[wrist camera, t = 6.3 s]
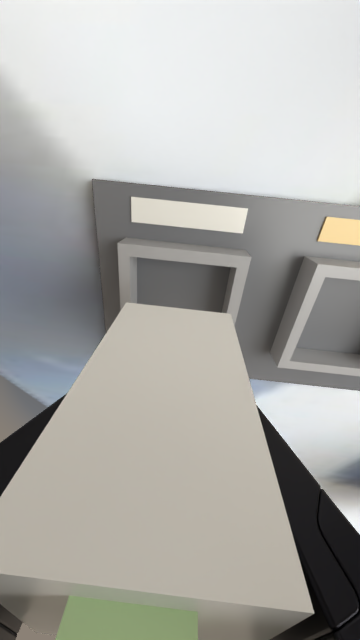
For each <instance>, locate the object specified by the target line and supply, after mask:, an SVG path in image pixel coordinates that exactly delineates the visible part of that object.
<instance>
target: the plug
mask: <svg viewBox="0 0 360 640" xmlns="http://www.w3.org/2000/svg"><path fill="white" fill-rule="evenodd" d="M0 604H1V605H2V606H3V607H4V608H6V609H7V610H8V611H9V612H11V613H12V614H13V615H14V616H16V617H17V618H18V619H19V620H21V621H22V622H23V623H25V624H26V625H27V626H28V627H29V628H31V629H32V630H33V631H34V632H36V633H42V634H50V635H56V639H55V640H270V639H272V638H273V637H275V636H277V635H278V634H280V633H282V632H284V631H285V630H287V629H289V628H290V627H292V626H294V625H296V624H297V623H299V622H301V621H302V620H304V619H306V618H308V617H309V616H311V615H313V614H314V610H313V606H312V603H311V599H310V596H309V592H308V588H307V585H306V581H305V578H304V574H303V570H302V567H301V563H300V560H299V556H298V553H297V549H296V545H295V542H294V538H293V535H292V531H291V527H290V524H289V520H288V517H287V513H286V510H285V506H284V502H283V499H282V495H281V492H280V488H279V484H278V481H277V477H276V474H275V470H274V466H273V463H272V459H271V456H270V452H269V449H268V445H267V441H266V438H265V434H264V431H263V427H262V423H261V420H260V416H259V413H258V409H257V406H256V402H255V398H254V395H253V391H252V388H251V384H250V380H249V377H248V373H247V370H246V366H245V363H244V359H243V355H242V352H241V348H240V345H239V341H238V337H237V334H236V330H235V327H234V323H233V319H232V316H231V314H228V313H219V312H209V311H200V310H191V309H182V308H173V307H164V306H155V305H145V304H136V303H127V302H126V303H125V305H124V307H123V308H122V310H121V311H120V313H119V314H118V316H117V317H116V319H115V320H114V322H113V324H112V325H111V327H110V328H109V330H108V331H107V333H106V334H105V336H104V337H103V339H102V341H101V342H100V344H99V345H98V347H97V348H96V350H95V351H94V353H93V354H92V356H91V358H90V359H89V361H88V362H87V364H86V365H85V367H84V368H83V370H82V371H81V373H80V375H79V376H78V378H77V379H76V381H75V382H74V384H73V385H72V387H71V388H70V390H69V392H68V393H67V395H66V396H65V398H64V399H63V401H62V402H61V404H60V405H59V407H58V409H57V410H56V412H55V413H54V415H53V416H52V418H51V419H50V421H49V422H48V424H47V426H46V427H45V429H44V430H43V432H42V433H41V435H40V436H39V438H38V439H37V441H36V443H35V444H34V446H33V447H32V449H31V450H30V452H29V453H28V455H27V456H26V458H25V460H24V461H23V463H22V464H21V466H20V467H19V469H18V470H17V472H16V473H15V475H14V477H13V478H12V480H11V481H10V483H9V484H8V486H7V487H6V489H5V490H4V492H3V494H2V495H1V497H0Z"/></svg>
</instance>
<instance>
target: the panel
mask: <svg viewBox="0 0 360 640" xmlns="http://www.w3.org/2000/svg"><path fill="white" fill-rule="evenodd" d="M92 185H93V196H94V208H95V219H96V230H97V241H98V252H99V263H100V275H101V286H102V297H103V308H104V319H105V331H106V333H107V331H108V330H109V328H110V327H111V325H112V324H113V322H114V320H115V319H116V317H117V316H118V314H119V313H120V311H121V310H122V308H123V307H124V305H125V303H126V302H127V303H136V304H145V305H155V306H164V307H173V308H182V309H191V310H200V311H209V312H219V313H228V314H231V316H232V319H233V323H234V327H235V330H236V334H237V337H238V341H239V345H240V348H241V352H242V355H243V359H244V363H245V366H246V370H247V373H248V377H249V379H258V380H267V381H276V382H285V383H294V384H303V385H312V386H321V387H331V388H340V389H349V390H358V391H360V206H352V205H342V204H332V203H323V202H313V201H303V200H293V199H283V198H273V197H264V196H254V195H244V194H234V193H224V192H214V191H205V190H195V189H185V188H175V187H165V186H155V185H146V184H136V183H126V182H116V181H106V180H96V179H92Z"/></svg>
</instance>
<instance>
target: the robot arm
mask: <svg viewBox="0 0 360 640" xmlns="http://www.w3.org/2000/svg"><path fill="white" fill-rule="evenodd" d="M66 395H67V394H66ZM66 395H64V396H63V397H61V398H60V399H59V400H57V401H56V402H55V403H53V404H52V405H51V406H49V407H48V408H47V409H45V410H44V411H43V412H41V413H40V414H39V415H37V416H36V417H34V418H33V419H32V420H30V421H29V422H28V423H26V424H25V425H24V426H22V427H21V428H19V429H18V430H17V431H15V432H14V433H13V434H11V435H10V436H9V437H7V438H6V439H5V440H3V441H2V442H1V443H0V497H1V495H2V494H3V492H4V490H5V489H6V487H7V486H8V484H9V483H10V481H11V480H12V478H13V477H14V475H15V473H16V472H17V470H18V469H19V467H20V466H21V464H22V463H23V461H24V460H25V458H26V456H27V455H28V453H29V452H30V450H31V449H32V447H33V446H34V444H35V443H36V441H37V439H38V438H39V436H40V435H41V433H42V432H43V430H44V429H45V427H46V426H47V424H48V422H49V421H50V419H51V418H52V416H53V415H54V413H55V412H56V410H57V409H58V407H59V405H60V404H61V402H62V401H63V399H64V398H65V396H66ZM256 406H257V405H256ZM257 409H258V413H259V416H260V420H261V423H262V427H263V431H264V434H265V438H266V441H267V445H268V449H269V452H270V456H271V459H272V463H273V466H274V470H275V474H276V477H277V481H278V484H279V488H280V492H281V495H282V499H283V502H284V506H285V510H286V513H287V517H288V520H289V524H290V527H291V531H292V535H293V538H294V542H295V545H296V549H297V553H298V556H299V560H300V563H301V567H302V570H303V574H304V578H305V581H306V585H307V588H308V592H309V596H310V599H311V603H312V606H313V610H314V614H313V615H311V616H309V617H308V618H306V619H304V620H302V621H301V622H299V623H297V624H296V625H294V626H292V627H290V628H289V629H287V630H285V631H284V632H282V633H280V634H278V635H277V636H275V637H273V638H272V639H270V640H360V534H359V533H358V532H357V531H356V530H355V528H354V527H353V526H352V525H351V524H350V522H349V521H348V520H347V519H346V517H345V516H344V515H343V514H342V513H341V511H340V510H339V509H338V508H337V506H336V505H335V504H334V503H333V501H332V500H331V499H330V498H329V496H328V495H327V494H326V493H325V491H324V490H323V489H320V485H319V484H318V483H317V481H316V480H315V479H314V477H313V476H312V475H311V474H310V472H309V471H308V470H307V469H306V467H305V466H304V465H303V464H302V462H301V461H300V460H299V458H298V457H297V456H296V455H295V453H294V452H293V451H292V450H291V448H290V447H289V446H288V444H287V443H286V442H285V441H284V439H283V438H282V437H281V436H280V434H279V433H278V432H277V431H276V429H275V428H274V427H273V425H272V424H271V423H270V422H269V420H268V419H267V418H266V417H265V415H264V414H263V413H262V411H261V410H260V409H259V408H258V406H257ZM21 624H22V621H21V620H19V619H18V618H17V617H16V616H14V615H13V614H12V613H11V612H9V611H8V610H7V609H6V608H4V607H3V606H2V605H1V604H0V640H15V639H16V637H17V633H18V632H19V629H20V627H21Z"/></svg>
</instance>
